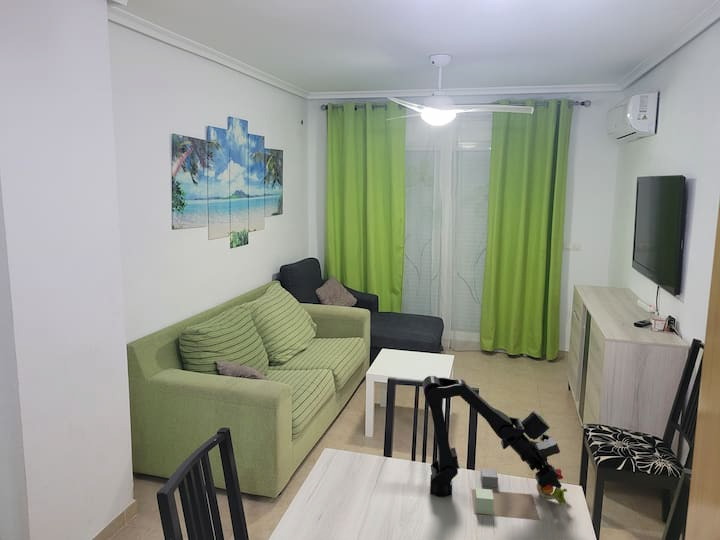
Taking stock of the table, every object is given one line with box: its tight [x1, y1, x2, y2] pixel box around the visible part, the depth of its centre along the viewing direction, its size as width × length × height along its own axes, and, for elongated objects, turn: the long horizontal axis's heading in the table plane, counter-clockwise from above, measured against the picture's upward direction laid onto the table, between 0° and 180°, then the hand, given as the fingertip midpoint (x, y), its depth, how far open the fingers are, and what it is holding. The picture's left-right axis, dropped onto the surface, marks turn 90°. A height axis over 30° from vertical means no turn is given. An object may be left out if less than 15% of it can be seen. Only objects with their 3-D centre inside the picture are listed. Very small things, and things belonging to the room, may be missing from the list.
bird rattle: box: [536, 468, 568, 505], centre depth 172 cm, size 6×11×9 cm
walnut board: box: [471, 488, 541, 521], centre depth 168 cm, size 19×13×2 cm
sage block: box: [475, 487, 494, 515], centre depth 165 cm, size 5×5×5 cm
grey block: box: [480, 467, 499, 488], centre depth 180 cm, size 5×5×5 cm
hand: (557, 481), depth 171 cm, fingers open, 6 cm apart
